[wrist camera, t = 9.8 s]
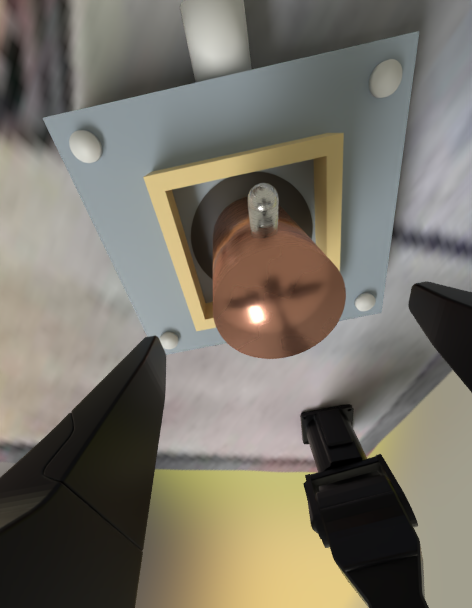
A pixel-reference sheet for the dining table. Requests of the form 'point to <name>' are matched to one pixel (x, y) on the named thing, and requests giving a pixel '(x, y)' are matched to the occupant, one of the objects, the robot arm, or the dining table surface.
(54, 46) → the dining table surface
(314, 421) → the robot arm
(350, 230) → the grey plate with frame
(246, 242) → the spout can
